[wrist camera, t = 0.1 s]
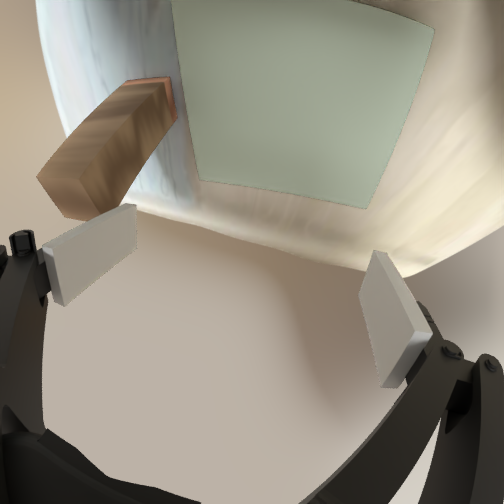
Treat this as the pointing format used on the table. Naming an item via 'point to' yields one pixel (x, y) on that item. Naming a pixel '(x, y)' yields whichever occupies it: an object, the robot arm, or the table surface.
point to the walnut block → (109, 149)
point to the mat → (297, 92)
